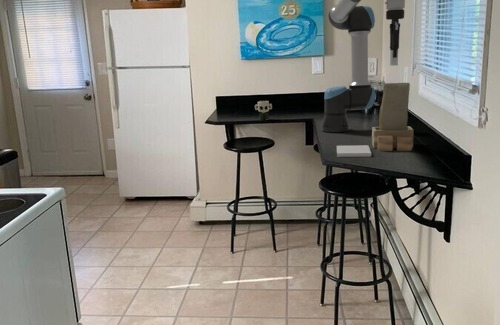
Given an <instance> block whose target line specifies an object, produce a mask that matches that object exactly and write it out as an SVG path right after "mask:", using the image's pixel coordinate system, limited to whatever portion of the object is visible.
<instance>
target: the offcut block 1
mask: <svg viewBox="0 0 500 325" xmlns="http://www.w3.org/2000/svg"><path fill="white" fill-rule="evenodd" d="M376 149H377V150H378V151H379V152H380V151H383V152H384V151H386V152H388V151H390V152H391V151H393V150H394V148H393V137H392V136H378V147H377V148H376ZM378 151H377V152H378Z"/></svg>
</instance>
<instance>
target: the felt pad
mask: <svg viewBox="0 0 500 325" xmlns="http://www.w3.org/2000/svg"><path fill="white" fill-rule="evenodd" d="M336 156H337V158H347V157H349V158H351V157H352V158H355V157H356V158H359V157H365V158H369V157H370V158H371V157H372V150H371V148H370V147H369V144H368V145H366V144H365V145H364V144H363V145H360V144H359V145H356V144H355V145H336Z"/></svg>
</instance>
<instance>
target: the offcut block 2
mask: <svg viewBox="0 0 500 325" xmlns="http://www.w3.org/2000/svg"><path fill="white" fill-rule="evenodd" d="M395 149H396V151H400V152H401V151H410V152H411V151H412V150H413V148H412V137H411V135H401V136H396V148H395Z"/></svg>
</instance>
